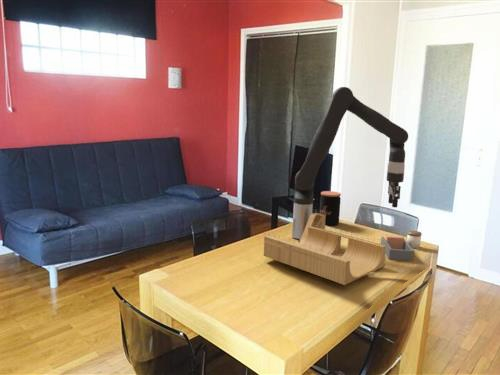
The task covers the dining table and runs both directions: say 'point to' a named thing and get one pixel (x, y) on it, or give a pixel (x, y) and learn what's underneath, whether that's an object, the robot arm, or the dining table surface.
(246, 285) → the dining table surface
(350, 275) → the skate ramp
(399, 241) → the pusher
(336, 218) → the coffee jar
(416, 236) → the jar
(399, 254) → the grey tray
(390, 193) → the robot arm
